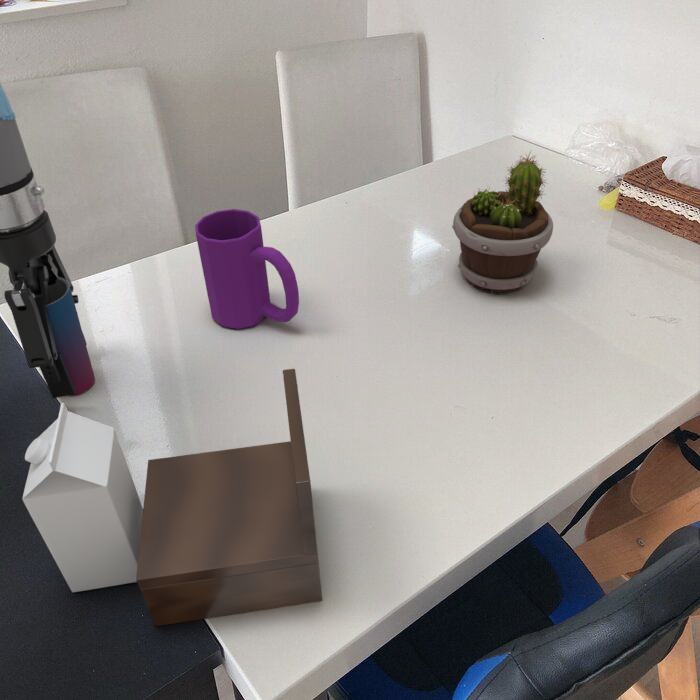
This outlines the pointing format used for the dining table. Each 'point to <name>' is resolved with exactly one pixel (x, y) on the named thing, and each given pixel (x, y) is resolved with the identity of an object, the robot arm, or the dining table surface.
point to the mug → (242, 270)
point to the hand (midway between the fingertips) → (70, 369)
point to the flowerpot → (504, 231)
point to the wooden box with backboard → (230, 529)
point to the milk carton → (84, 502)
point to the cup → (69, 335)
